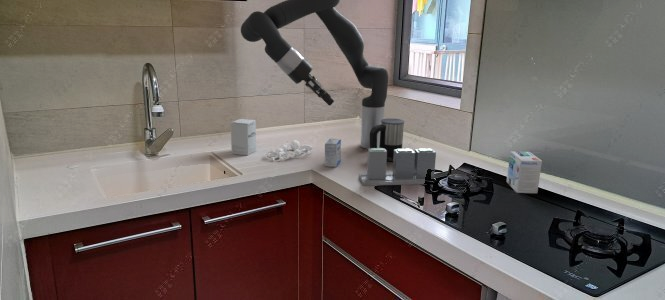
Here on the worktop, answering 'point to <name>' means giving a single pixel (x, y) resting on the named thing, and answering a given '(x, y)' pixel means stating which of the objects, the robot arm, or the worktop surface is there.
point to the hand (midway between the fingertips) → (330, 101)
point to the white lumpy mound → (283, 150)
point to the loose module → (376, 163)
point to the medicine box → (332, 152)
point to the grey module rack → (406, 168)
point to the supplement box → (243, 136)
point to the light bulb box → (524, 172)
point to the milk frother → (388, 136)
